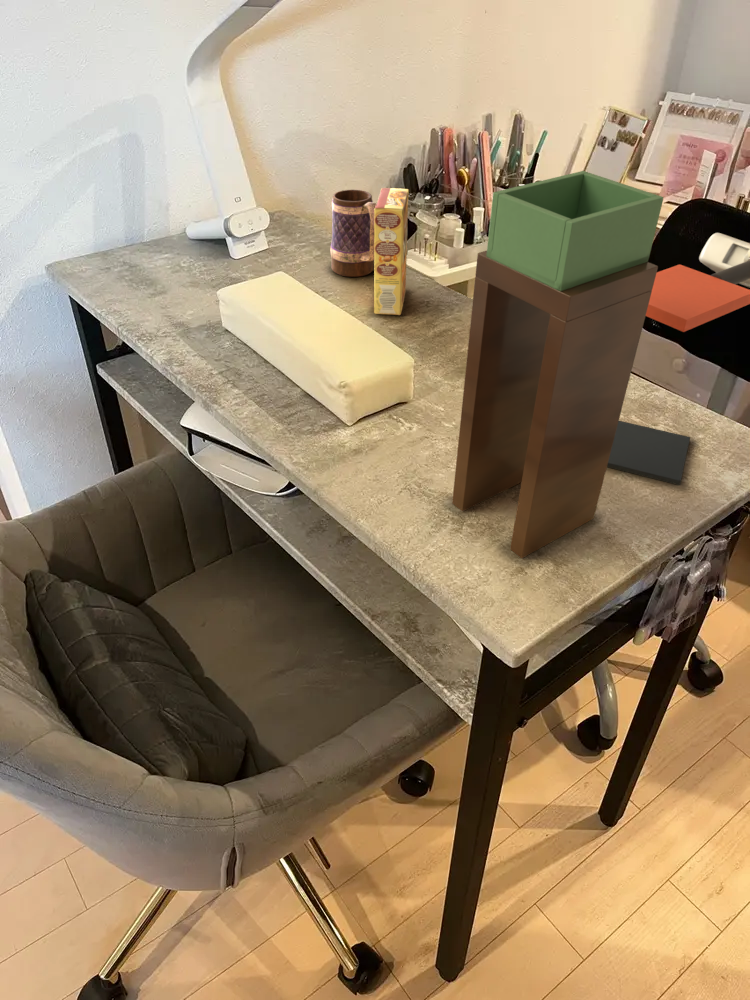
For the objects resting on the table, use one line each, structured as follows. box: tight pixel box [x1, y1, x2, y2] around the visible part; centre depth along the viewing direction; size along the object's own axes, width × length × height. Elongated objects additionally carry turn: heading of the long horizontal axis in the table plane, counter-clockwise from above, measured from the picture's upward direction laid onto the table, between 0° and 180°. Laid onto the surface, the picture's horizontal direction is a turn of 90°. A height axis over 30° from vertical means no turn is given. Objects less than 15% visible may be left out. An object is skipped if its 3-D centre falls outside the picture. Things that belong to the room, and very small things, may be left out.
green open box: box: [486, 170, 664, 291], centre depth 59 cm, size 10×8×5 cm
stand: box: [451, 250, 659, 559], centre depth 69 cm, size 10×10×26 cm
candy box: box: [373, 187, 410, 316], centre depth 110 cm, size 9×4×15 cm, turn 174°
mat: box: [607, 420, 691, 486], centre depth 85 cm, size 10×9×1 cm
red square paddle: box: [645, 260, 750, 333], centre depth 77 cm, size 23×9×2 cm, turn 126°
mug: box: [330, 189, 377, 278], centre depth 119 cm, size 10×7×12 cm
